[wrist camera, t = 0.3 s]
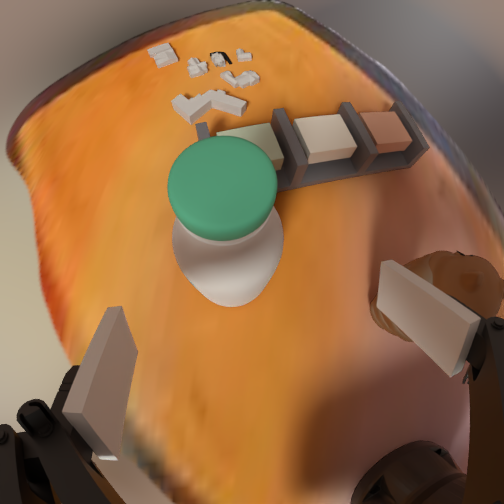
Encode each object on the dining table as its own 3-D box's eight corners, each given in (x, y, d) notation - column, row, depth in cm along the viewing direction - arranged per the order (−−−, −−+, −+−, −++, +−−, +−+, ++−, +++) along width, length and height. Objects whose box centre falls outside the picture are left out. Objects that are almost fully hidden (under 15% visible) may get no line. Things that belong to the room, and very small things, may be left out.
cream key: (350, 157, 32) (357, 146, 30) (305, 164, 31) (310, 153, 29) (334, 125, 33) (339, 114, 31) (291, 131, 32) (294, 118, 30)
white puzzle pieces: (247, 26, 43) (248, 18, 41) (315, 97, 38) (318, 88, 36) (147, 54, 40) (144, 46, 38) (187, 138, 35) (184, 128, 33)
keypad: (410, 167, 35) (429, 147, 30) (214, 207, 32) (210, 184, 27) (386, 123, 37) (401, 101, 32) (200, 151, 34) (195, 124, 29)
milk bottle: (278, 251, 31) (335, 139, 12) (252, 318, 29) (280, 304, 10) (212, 226, 32) (182, 92, 12) (184, 290, 30) (97, 229, 10)
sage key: (280, 169, 31) (284, 157, 29) (227, 181, 30) (227, 169, 28) (267, 135, 32) (269, 122, 30) (217, 145, 31) (216, 132, 29)
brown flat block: (404, 150, 33) (412, 140, 31) (370, 154, 32) (377, 144, 30) (387, 121, 34) (394, 111, 32) (353, 123, 33) (359, 112, 31)
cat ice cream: (414, 283, 31) (527, 243, 14) (406, 347, 29) (525, 348, 12) (351, 269, 31) (455, 209, 14) (340, 338, 29) (451, 344, 12)
